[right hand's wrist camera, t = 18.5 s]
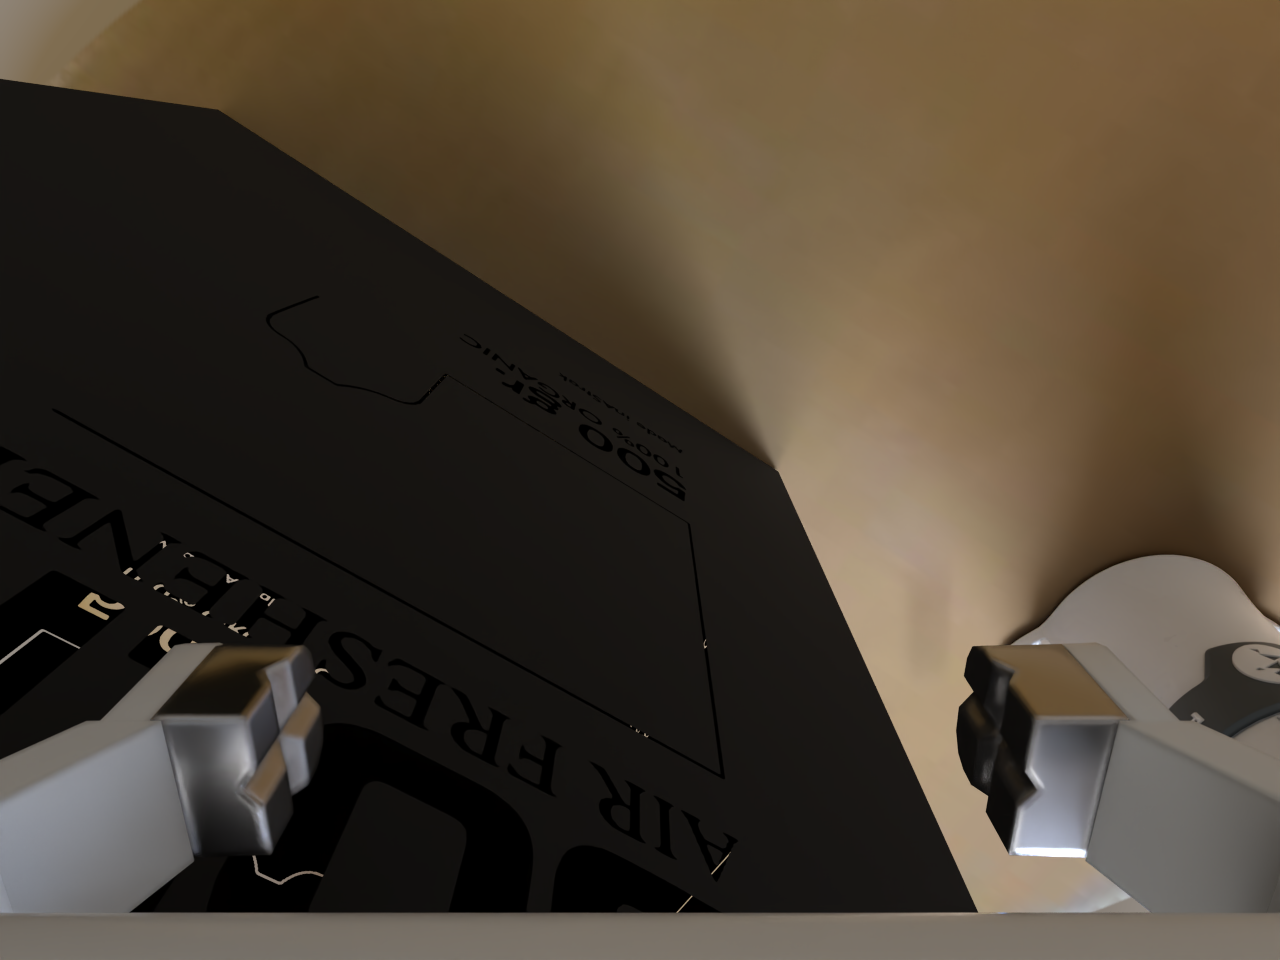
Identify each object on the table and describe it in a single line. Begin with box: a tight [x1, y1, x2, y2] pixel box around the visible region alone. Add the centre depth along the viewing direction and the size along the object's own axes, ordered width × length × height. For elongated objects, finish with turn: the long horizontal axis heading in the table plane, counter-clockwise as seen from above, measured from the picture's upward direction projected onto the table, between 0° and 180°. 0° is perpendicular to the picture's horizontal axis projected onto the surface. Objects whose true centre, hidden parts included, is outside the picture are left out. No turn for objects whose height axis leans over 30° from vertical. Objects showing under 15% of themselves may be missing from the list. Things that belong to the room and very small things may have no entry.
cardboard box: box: [0, 79, 978, 913], centre depth 30 cm, size 38×20×45 cm, turn 57°
